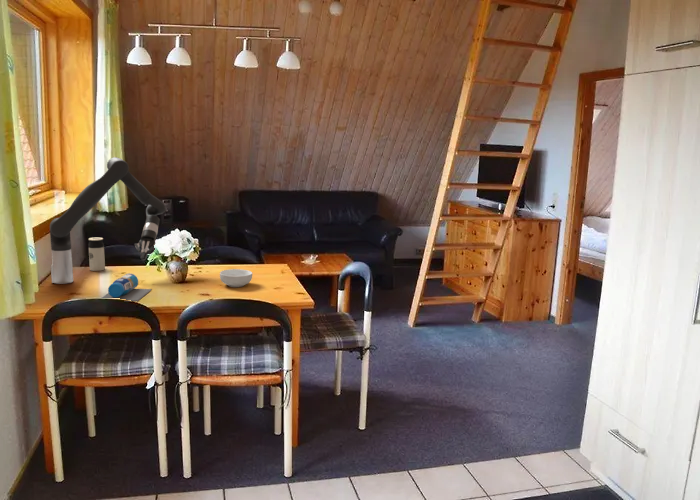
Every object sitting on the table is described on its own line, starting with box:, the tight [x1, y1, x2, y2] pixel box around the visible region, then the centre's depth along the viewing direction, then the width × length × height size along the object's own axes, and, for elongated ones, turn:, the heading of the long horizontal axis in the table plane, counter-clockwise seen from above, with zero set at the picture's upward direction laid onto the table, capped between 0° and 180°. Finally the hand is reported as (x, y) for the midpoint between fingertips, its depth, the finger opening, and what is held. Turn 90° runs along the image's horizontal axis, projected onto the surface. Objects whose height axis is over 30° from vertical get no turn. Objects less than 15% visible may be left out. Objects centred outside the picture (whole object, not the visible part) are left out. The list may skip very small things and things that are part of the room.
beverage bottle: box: [107, 272, 139, 297], centre depth 283 cm, size 8×8×20 cm
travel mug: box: [87, 237, 106, 272], centre depth 330 cm, size 8×8×18 cm
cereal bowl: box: [219, 268, 253, 288], centre depth 307 cm, size 17×17×7 cm
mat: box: [101, 288, 152, 302], centre depth 283 cm, size 18×21×1 cm
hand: (142, 259), depth 306 cm, fingers closed
